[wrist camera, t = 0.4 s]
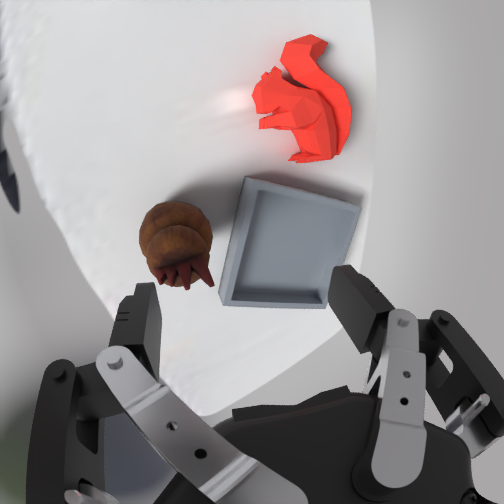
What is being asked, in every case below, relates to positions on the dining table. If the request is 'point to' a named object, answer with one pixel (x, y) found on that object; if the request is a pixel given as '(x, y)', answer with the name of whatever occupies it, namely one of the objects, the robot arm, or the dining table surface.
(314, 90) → the animal figurine
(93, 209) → the dining table surface
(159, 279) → the wooden figurine
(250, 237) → the slate dish
